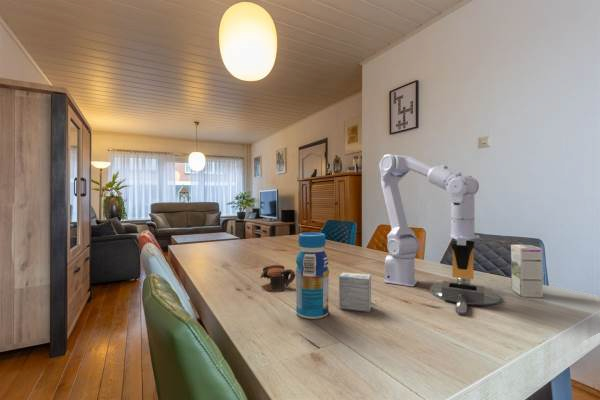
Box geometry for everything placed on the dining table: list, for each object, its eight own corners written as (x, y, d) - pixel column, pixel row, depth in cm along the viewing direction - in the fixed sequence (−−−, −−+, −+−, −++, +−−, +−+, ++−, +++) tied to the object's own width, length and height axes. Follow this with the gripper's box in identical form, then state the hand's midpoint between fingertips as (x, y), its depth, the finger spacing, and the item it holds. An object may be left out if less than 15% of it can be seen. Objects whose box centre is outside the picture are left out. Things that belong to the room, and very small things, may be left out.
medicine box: (371, 306, 77) (371, 274, 77) (369, 312, 73) (369, 278, 72) (342, 303, 79) (342, 271, 79) (339, 309, 75) (338, 276, 75)
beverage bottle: (289, 312, 73) (288, 233, 73) (314, 304, 78) (314, 231, 78) (310, 323, 66) (309, 237, 66) (336, 314, 72) (335, 234, 72)
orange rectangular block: (452, 277, 80) (452, 248, 80) (453, 274, 83) (453, 246, 83) (473, 279, 78) (473, 250, 78) (473, 276, 80) (473, 248, 80)
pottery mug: (256, 293, 90) (255, 267, 94) (269, 297, 98) (267, 273, 102) (292, 285, 87) (289, 259, 91) (302, 290, 95) (299, 266, 99)
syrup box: (543, 298, 82) (543, 247, 82) (520, 296, 83) (520, 247, 83) (532, 291, 88) (531, 244, 88) (510, 290, 89) (510, 244, 89)
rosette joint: (421, 308, 75) (421, 285, 75) (434, 282, 98) (434, 265, 98) (505, 323, 66) (505, 297, 66) (498, 291, 89) (498, 271, 88)
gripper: (479, 221, 72) (479, 275, 72) (479, 217, 84) (479, 264, 84) (448, 220, 76) (448, 271, 76) (452, 217, 88) (452, 261, 88)
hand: (462, 267), depth 80 cm, fingers closed on orange rectangular block, 3 cm apart
